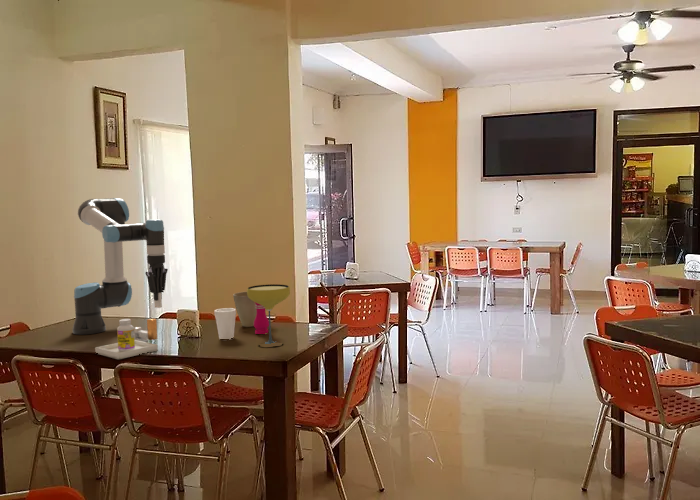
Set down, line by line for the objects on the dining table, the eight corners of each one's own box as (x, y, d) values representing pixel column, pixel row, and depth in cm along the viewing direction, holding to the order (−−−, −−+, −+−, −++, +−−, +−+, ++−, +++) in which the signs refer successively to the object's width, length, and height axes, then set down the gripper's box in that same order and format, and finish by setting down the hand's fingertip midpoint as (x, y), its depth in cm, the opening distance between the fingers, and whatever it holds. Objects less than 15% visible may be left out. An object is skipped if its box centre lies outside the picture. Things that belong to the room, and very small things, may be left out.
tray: (95, 353, 275) (95, 347, 275) (134, 345, 289) (133, 339, 289) (118, 359, 263) (118, 353, 263) (157, 350, 277) (157, 344, 277)
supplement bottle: (115, 351, 273) (113, 321, 272) (122, 348, 280) (120, 318, 279) (130, 351, 272) (129, 321, 271) (137, 348, 279) (135, 318, 278)
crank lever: (129, 336, 294) (128, 317, 293) (138, 334, 297) (137, 315, 296) (151, 340, 284) (149, 320, 283) (159, 338, 287) (158, 319, 286)
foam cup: (211, 338, 297) (210, 310, 296) (228, 335, 304) (227, 307, 303) (224, 341, 291) (223, 312, 290) (241, 337, 298) (239, 309, 297)
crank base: (122, 342, 294) (121, 333, 293) (140, 339, 301) (139, 329, 300) (133, 345, 288) (133, 335, 288) (151, 341, 295) (151, 331, 295)
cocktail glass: (300, 342, 285) (298, 285, 283) (274, 351, 269) (272, 291, 267) (266, 338, 294) (264, 283, 292) (240, 347, 279) (238, 289, 276)
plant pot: (237, 322, 334) (236, 291, 333) (267, 322, 333) (265, 291, 332) (231, 328, 319) (230, 296, 318) (261, 328, 319) (260, 295, 317)
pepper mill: (266, 335, 302) (265, 292, 300) (251, 335, 303) (250, 292, 301) (271, 332, 309) (270, 289, 307) (257, 331, 310) (255, 289, 308)
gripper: (158, 252, 297) (160, 304, 300) (139, 255, 285) (141, 309, 287) (172, 253, 295) (174, 305, 297) (153, 256, 282) (156, 310, 285)
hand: (158, 307), depth 292 cm, fingers closed
